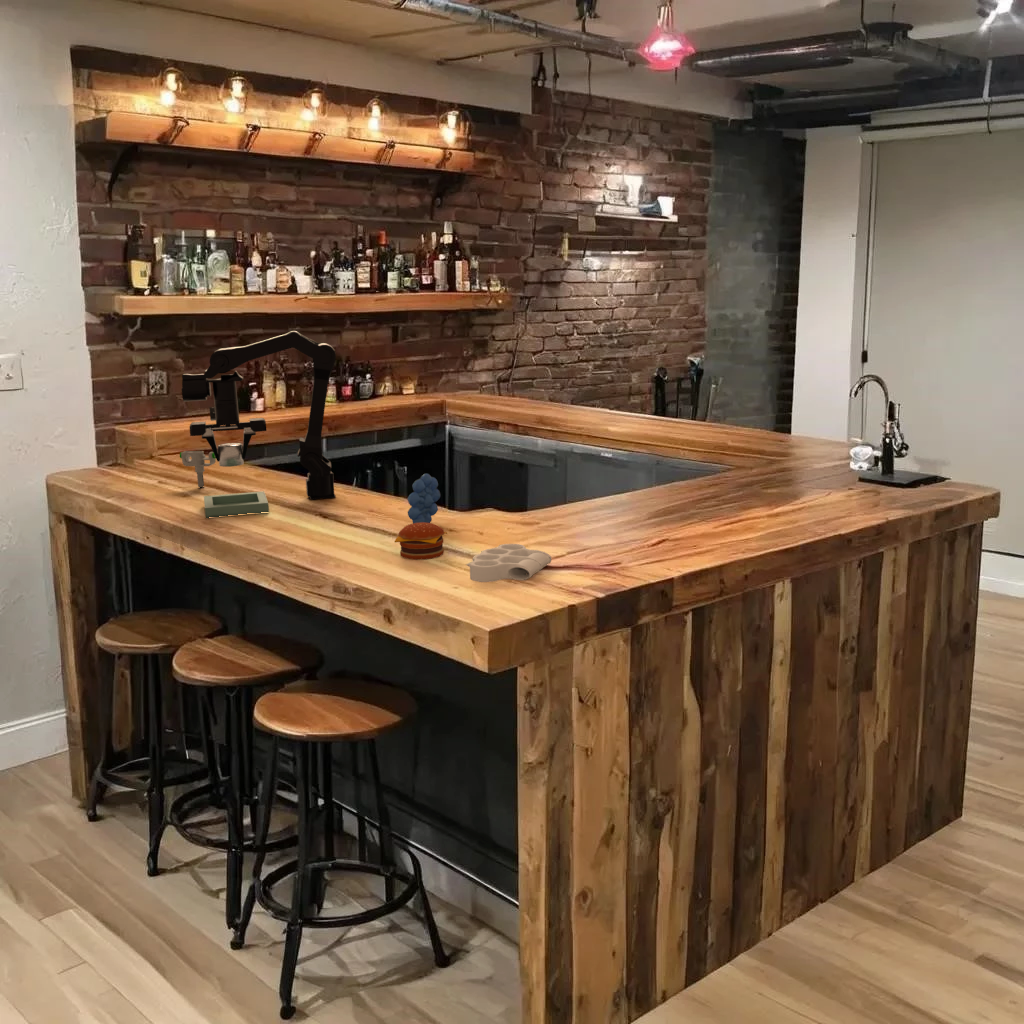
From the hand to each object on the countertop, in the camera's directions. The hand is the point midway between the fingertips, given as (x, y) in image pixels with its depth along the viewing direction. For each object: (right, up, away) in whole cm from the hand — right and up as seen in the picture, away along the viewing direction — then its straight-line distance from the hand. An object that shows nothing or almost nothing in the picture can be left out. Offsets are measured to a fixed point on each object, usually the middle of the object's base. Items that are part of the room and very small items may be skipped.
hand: (231, 460), depth 288 cm
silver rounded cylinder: (0, -1, 0) cm, 1 cm away
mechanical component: (-14, -7, +23) cm, 27 cm away
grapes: (+51, -16, -29) cm, 61 cm away
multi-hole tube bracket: (+70, -25, -67) cm, 100 cm away
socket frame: (+3, -13, -6) cm, 14 cm away
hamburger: (+53, -22, -54) cm, 78 cm away
